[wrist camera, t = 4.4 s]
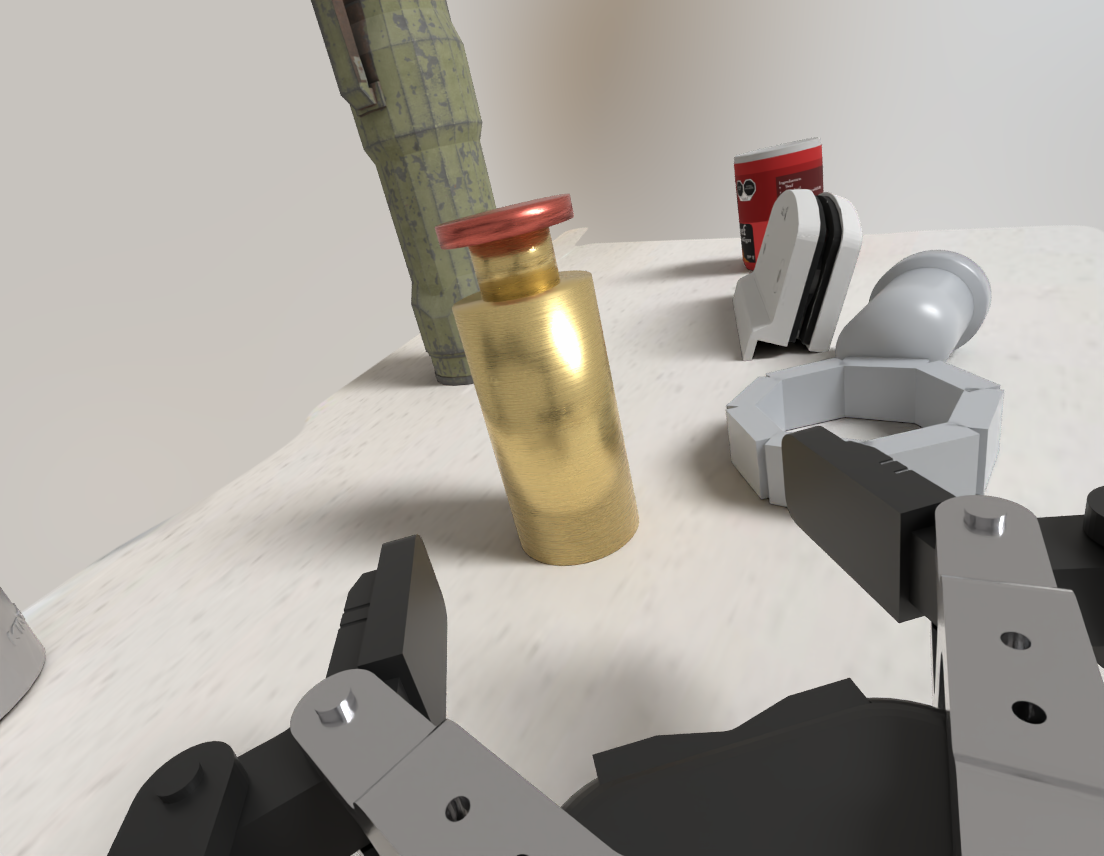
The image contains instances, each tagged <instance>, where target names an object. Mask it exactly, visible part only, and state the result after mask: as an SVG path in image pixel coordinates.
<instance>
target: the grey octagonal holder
mask: <svg viewBox="0 0 1104 856" xmlns="http://www.w3.org/2000/svg"><path fill="white" fill-rule="evenodd" d="M990 305H991V287H990V283H989V280H988V278H987V276H986V274H985V273H984V271H983V270H982V269H981V268H980V267H979V266H978V265H977V264H976V263H975V262H974V261H972V260H971V259H969V258H968V257H966V256H964V255H961V254H959V253H956V252H951V251H946V250H930V251H923V252H919V253H916V254H913V255H911V256H908V257H906V258H904V259H903V260H901V261H900V262H898V263H897V264H896V265H894V266H893V267H892V268H891V269H890V270H889V271H888V272H887V273H886V274H885V275H883V277H882V278H881V279H880V280H879V281H878V282H877V284H876V285H875V287H874V289H873V291H872V293H871V296H870V299H869V303H868V304H867V305H866V306H865V307H864V308H863V309H862V310H861V311H860V312H859V313H858V314H857V315H856V316H855V317H854V318H853V319H852V320H851V321H850V322H849V323H848V324H847V325H846V326H845V327H844V329H843V330H842V332H841V333H840V335H839V337H838V340H837V343H836V350H835V355H836V357H835V358H831V359H826V360H822V361H818V362H813V363H809V364H805V365H800V366H796V367H792V368H787V369H783V370H779V371H775V372H770V373H766V377H758V378H757V379H756V380H754V381H753V382H752V383H751V384H750V385H749V386H748V387H747V388H745V389H744V390H743V391H742V392H741V393H740V394H739V395H738V396H736V397H735V398H734V399H733V400H732V401H731V402H730V403H729V404H727V405H726V406H727V410H726V417H727V425H728V434H729V443H730V452H731V460H732V463H733V464H734V466H735V467H736V468H737V469H738V471H739V472H740V473H741V474H742V476H743V477H744V478H745V479H746V481H747V482H748V483H749V485H750V486H751V487H752V488H753V490H754V491H755V492H756V493H757V495H758V496H759V497H760V498H761V499H765V498H769V499H770V504H775V505H780V506H785V507H787V504H786V499H785V488H784V475H783V462H782V449H781V443H782V438H783V437H784V435H786V434H790V433H792V432H785V431H786V430H790V429H794V428H799V427H803V426H807V425H812V424H816V423H820V422H825V421H829V420H834V419H838V418H842V417H853V418H864V419H875V420H886V421H897V422H908V423H916V424H917V425H919V426H921V427H922V428H920V429H916V430H912V431H907V432H903V433H899V434H894V435H890V436H885V437H881V438H877V439H872V440H868V441H863V440H854V439H845V438H841V439H843V440H844V441H854V442H857V443H861V444H864V445H868V446H871V447H875V448H877V449H878V450H880V451H881V452H883V453H885V454H886V455H888V456H890V457H891V458H893V460H894V461H898V462H900V463H901V464H903V465H905V466H906V467H908V470H913V471H915V472H916V473H918V474H920V475H921V476H923V477H925V478H926V479H928V480H930V481H931V482H933V483H935V484H936V485H938V486H940V487H941V488H943V489H945V490H946V491H948V492H950V493H951V494H953V495H955V496H956V497H958V496H965V495H976V494H977V495H984V492H985V490H986V487H987V484H988V481H989V478H990V476H991V473H992V470H993V467H994V464H995V462H996V459H997V456H998V453H999V447H1000V435H1001V423H1002V411H1003V399H1004V390H1000V385H999V384H996V383H994V382H992V381H989V380H987V379H984V378H982V377H979V376H977V375H975V374H972V373H970V372H967V371H965V370H962V369H960V368H958V367H955V366H953V365H950V364H948V363H945V362H946V361H947V359H948V357H949V356H950V354H951V353H952V351H954V350H956V349H958V348H959V347H961V346H962V345H964V344H965V343H967V342H968V341H969V340H970V339H971V338H972V337H973V336H974V335H975V334H976V332H977V331H978V329H979V328H980V326H981V324H982V323H983V321H984V319H985V317H986V315H987V313H988V311H989V308H990Z"/></svg>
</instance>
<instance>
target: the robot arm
mask: <svg viewBox="0 0 1104 856" xmlns="http://www.w3.org/2000/svg"><path fill="white" fill-rule="evenodd" d="M781 449H782V462H783V475H784V488H785V499H786V504H787V507H788V510H789V512H790V515H791V517H792V518H793V520H794V522H795V523H796V524H797V525H798V526H799V527H800V528H801V529H802V530H803V531H804V532H805V533H806V534H807V535H808V536H809V537H810V538H811V539H812V540H813V541H814V542H815V543H816V544H817V545H818V546H819V547H821V548H822V549H823V550H824V551H825V552H826V553H827V554H828V555H829V556H830V557H831V558H832V559H833V560H834V561H835V562H836V563H837V564H838V565H839V566H840V567H841V568H842V569H843V570H844V571H845V572H846V573H847V574H849V575H850V576H851V577H852V578H853V579H854V580H855V581H856V582H857V583H858V584H859V585H860V586H861V587H862V588H863V589H864V590H865V591H866V592H867V593H868V594H869V595H870V596H871V597H872V598H873V599H874V600H875V601H877V602H878V603H879V604H880V605H881V606H882V607H883V608H884V609H885V610H886V611H887V612H888V613H889V614H890V615H891V616H892V617H893V618H894V619H895V620H896V621H897V622H898V623H902V622H905V621H908V620H912V619H915V618H919V617H922V616H926V617H927V618H928V619H929V620H930V621H931V630H930V645H931V675H932V705H933V706H930V705H926V704H922V703H917V702H913V701H908V700H900V699H893V698H866V697H865V696H864V694H863V693H862V692H861V691H860V689H859V688H858V687H857V686H856V685H855V683H854V682H853V681H852V680H851V678H847V679H844V680H841V681H837V682H834V683H831V684H827V685H824V686H821V687H817V688H814V689H811V690H807V691H804V692H801V693H797V694H794V695H790V696H788V697H786V698H784V699H783V700H781V701H779V702H778V703H776V704H774V705H773V706H771V707H769V708H768V709H766V710H765V711H763V712H761V713H760V714H758V715H756V716H755V717H753V718H751V719H750V720H748V721H747V722H745V723H743V724H742V725H740V726H738V727H737V728H735V729H733V730H729V731H724V732H708V733H691V734H675V735H658V736H654V737H650V738H647V739H644V740H640V741H637V742H634V743H630V744H627V745H624V746H620V747H617V748H614V749H610V750H607V751H604V752H600V753H597V754H594V755H593V759H594V763H595V767H596V772H597V776H598V778H596V779H594V780H593V781H591V782H590V783H588V784H586V785H585V786H584V787H582V788H581V789H580V790H579V791H577V792H576V793H575V794H574V795H572V796H571V797H570V798H569V799H568V800H567V801H566V802H565V803H564V804H563V805H562V806H561V807H559V806H558V805H557V804H555V803H554V802H553V801H552V800H550V799H549V798H548V797H547V796H545V795H544V794H543V793H542V792H541V791H539V790H538V789H537V788H536V787H534V786H533V785H532V784H531V783H529V782H528V781H527V780H526V779H524V778H523V777H522V776H521V775H519V774H518V773H517V772H516V771H515V770H513V769H512V768H511V767H510V766H508V765H507V764H506V763H505V762H503V761H502V760H501V759H500V758H498V757H497V756H496V755H495V754H493V753H492V752H491V751H490V750H489V749H487V748H486V747H485V746H484V745H482V744H481V743H480V742H479V741H477V740H476V739H475V738H474V737H472V736H471V735H470V734H469V733H467V732H466V731H465V730H464V729H463V728H461V727H460V726H459V725H457V724H456V723H455V722H453V721H451V720H449V719H446V673H447V614H446V608H445V603H444V599H443V595H442V592H441V590H440V587H439V584H438V581H437V579H436V576H435V573H434V570H433V568H432V565H431V562H430V559H429V557H428V554H427V551H426V548H425V546H424V543H423V541H422V539H421V537H420V535H418V534H416V535H413V536H409V537H405V538H402V539H398V540H394V541H391V542H387V543H384V544H383V545H382V548H381V553H380V558H379V563H378V568H377V570H374V571H370V572H367V573H363V574H362V575H361V577H360V578H359V579H358V580H357V582H356V583H355V584H354V586H353V587H352V588H351V590H350V591H349V593H348V596H347V600H346V604H345V608H344V614H343V615H342V619H341V623H340V629H339V630H338V634H337V638H336V641H335V645H334V649H333V653H332V656H331V660H330V664H329V668H328V672H327V675H326V679H324V680H323V681H321V682H320V683H318V684H317V685H315V686H314V687H313V688H312V689H311V690H309V691H308V692H307V693H306V694H305V695H304V697H303V698H302V699H301V700H300V701H299V703H298V704H297V706H296V708H295V709H294V712H293V714H292V717H291V721H290V728H289V729H287V730H286V731H284V732H283V733H281V734H279V735H277V736H276V737H274V738H272V739H270V740H268V741H267V742H265V743H263V744H261V745H259V746H257V747H255V748H254V749H252V750H250V751H248V752H246V753H244V754H243V755H241V756H239V757H237V756H236V754H235V753H234V751H233V750H232V748H231V747H230V746H229V745H228V744H226V743H224V742H220V741H212V742H205V743H202V744H198V745H196V746H193V747H191V748H189V749H187V750H185V751H183V752H181V753H180V754H178V755H176V756H175V757H173V758H172V759H170V760H169V761H168V762H166V763H165V764H164V765H163V766H161V767H160V768H159V769H158V770H157V771H156V772H155V773H154V774H153V775H152V776H151V777H150V778H149V779H148V780H147V781H146V782H145V784H144V785H143V786H142V787H141V789H140V790H139V792H138V793H137V795H136V797H135V798H134V800H133V802H132V804H131V806H130V808H129V810H128V813H127V815H126V817H125V819H124V821H123V823H122V825H121V827H120V829H119V832H118V834H117V836H116V838H115V840H114V842H113V844H112V846H111V849H110V851H109V853H108V855H107V856H351V855H352V854H354V853H355V852H358V854H359V855H360V856H1104V683H1103V680H1102V677H1101V674H1100V671H1099V668H1098V664H1099V665H1100V666H1101V667H1103V668H1104V486H1102V487H1098V488H1096V489H1094V490H1093V491H1091V492H1090V493H1089V495H1088V496H1087V503H1086V509H1085V515H1073V516H1058V517H1043V518H1036V516H1035V515H1034V514H1033V513H1032V512H1031V511H1030V510H1028V509H1027V508H1025V507H1023V506H1022V505H1019V504H1017V503H1015V502H1012V501H1009V500H1006V499H1002V498H998V497H992V496H984V495H965V496H958V497H956V496H955V495H953V494H951V493H950V492H948V491H946V490H945V489H943V488H941V487H940V486H938V485H936V484H935V483H933V482H931V481H930V480H928V479H926V478H925V477H923V476H921V475H920V474H918V473H916V472H915V471H913V470H908V467H906V466H905V465H903V464H901V463H900V462H898V461H894V460H893V458H891V457H890V456H888V455H886V454H885V453H883V452H881V451H880V450H878V449H877V448H875V447H871V446H868V445H864V444H861V443H857V442H854V441H844V440H843V439H841V438H839V437H838V436H836V435H835V434H833V433H831V432H830V431H828V430H827V429H825V428H824V427H822V426H815V427H812V428H808V429H804V430H801V431H797V432H793V433H790V434H786V435H784V437H783V438H782V443H781ZM45 659H46V657H45V648H44V647H43V645H42V644H41V643H40V641H39V640H38V638H37V637H36V636H35V634H34V633H33V631H32V630H31V629H30V627H29V626H28V624H27V623H26V622H25V618H24V616H23V615H22V613H21V612H20V611H19V609H18V608H17V607H16V605H15V604H14V603H12V602H11V601H10V599H9V598H8V597H7V595H6V594H5V593H4V591H3V590H2V588H1V587H0V719H1V718H2V717H3V716H5V715H6V714H7V713H8V712H9V711H10V710H11V709H12V708H13V707H14V706H15V704H16V703H17V702H18V701H19V700H20V699H21V698H22V697H23V696H24V694H25V693H26V692H27V691H28V690H29V689H30V687H31V686H32V684H33V683H34V681H35V680H36V678H37V677H38V675H39V674H40V672H41V670H42V667H43V664H44V662H45Z"/></svg>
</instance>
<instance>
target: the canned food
mask: <svg viewBox="0 0 1104 856" xmlns="http://www.w3.org/2000/svg"><path fill="white" fill-rule="evenodd" d="M820 140H821V139H820V138H818V137H817V138H811V139H804V140H799V141H794V142H790V143H785V144H780V145H776V146H771V147H767V148H763V149H758V150H755V151H751V152H747V153H743V154H739V155H737V156H735V157H734V169H735V182H736V193H737V203H738V213H739V223H740V234H741V244H742V255H743V261H744V263H745V266H746V268H747V269H749V270H753V271H754V269H755V266H756V262H757V259H758V255H759V252H760V249H761V245H762V242H763V238H764V235H765V232H766V228H767V225H768V221H769V218H770V215H771V211H772V208H773V206H774V203H775V201H776V200H777V199H778V197H779V196H780V195H781V194H782V193H783V192H784V191H786V190H797V189H808V190H810V191H812V192H813V194H814V195H815V196H816V195H819V194H821V193H823V165H822V145H821V141H820Z"/></svg>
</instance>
